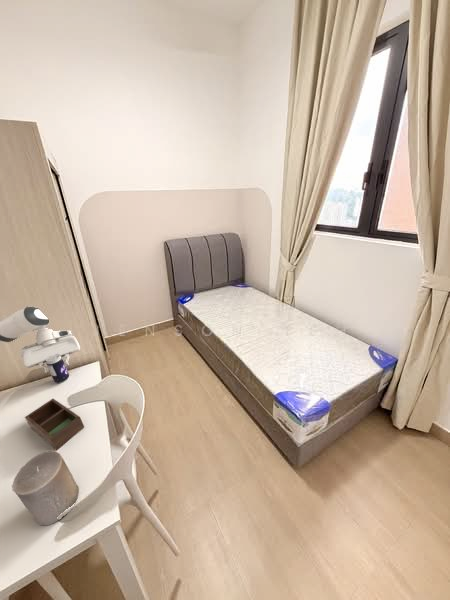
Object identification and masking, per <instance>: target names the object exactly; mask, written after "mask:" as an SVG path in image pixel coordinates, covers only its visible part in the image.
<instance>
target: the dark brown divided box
mask: <svg viewBox="0 0 450 600" xmlns="http://www.w3.org/2000/svg"><path fill="white" fill-rule="evenodd" d="M24 419H25V420H26V422H27V424H28V426H29V428H31V429H32V430H33V431H34V432H35V433H36V434H37V435H39V436H40V437H41V438H42V439H43V440H44V441H45V442H46V443H48V444H49V445H50V446H51V447H52V448H54V449H55V450H56V451H58V450H59V449H61V448H62V447H64V445H65V444H67V443H68V442H69V441H70V440H71V439H73V437H75V436H76V435H78V433H79V432H82V430H83V429H84V428H85V425H84V423H83V420H82V418H81V416H79V415H78V414H76V413H75V412H74V411H72V409H69V408H68V407H66V406H65V405H63V403H61V402H59V401H58V400H56V399H55V398H51V399H50V400H48V401H46V402H45V403H43V404H42V405H41V406H39V407H38V408H36V409H34V410H33V411H32V412H30V413H28V414H27V415H26V416H24Z"/></svg>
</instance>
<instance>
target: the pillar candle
mask: <svg viewBox="0 0 450 600" xmlns="http://www.w3.org/2000/svg"><path fill="white" fill-rule="evenodd" d="M11 488H12V489H11V490H12V491H13V493H15V494H16V495H17V498H18V499H19V500H20V501H21V503H22V504H23V505H24V507H25V508H26V509H27V511H28V512H29V514H30V515H31V516H32V517H33V519H34V520H35V522H36V523H37V524H38V525H40V526H42V527H43V526H50V525H53V524H56V523H58V522H59V521H58V519H57V517H58V516H59V515H60V514H61V513H63V512H64V511H65V510H66V509H68V508H69V507H71V506H72V505H73V504H74V503H75V504H76V503H77V500H78V498H79V493H80V489H79V486H78V484H77V482H76V480H75V479H74V477H73V474H72V473H71V471H70V469H69V467H68V465H67V463H66V461H65V459H64V457H63V456H62V455H61V453H60V452H57V450H56V451H55V450H51V451H50V450H49V451H44V452H42V453H40V454H37V455H36V456H33V457H32V458H31V459H29V460H28V461H27V462H26V463H25V464H24V465H23V466H22V467H21V468H20V469H19V471H18V472H17V473H16V475H15V477H14V479H13V482H12V485H11ZM75 504H74V505H75Z"/></svg>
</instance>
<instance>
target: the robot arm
mask: <svg viewBox="0 0 450 600" xmlns="http://www.w3.org/2000/svg"><path fill="white" fill-rule="evenodd" d="M25 307H26V308H25ZM25 307H23V308H20V309H18V310H16V311H17V312H16V311H15V312H13V313H14V314H13V313H11V314H12V315H11V316H9V317H7V318H5V319H4V320H3V321H1V322H0V342H3V343H11V341H12V342H14V341H16V340H18V339H19V338H21V337H22V336H24V335H27V334H29V333H31V332H35V331H34V330H38V332H37V335H36V338H35V341H36V342H35V343H32V344H30V345H26V346H23V347H22V348H21V349H20V355H21V357H22V362H23V363H22V364H23V366H24V367H25V368H27V369H31V368H34V367H36V366H39V367H41V368H42V369H43V370H44V373H45V374H47V373H50V371H49V369H48V367H47V366H46V359H47V358H48V357H49V356H50V357H51V356H54V355H55V354H59V355H60V356H61V357H62V358H63V357H65V361H64V360H63V361H64V366H66V367H67V366H70V363H69V361H70V357H71V356H70V355H72V354H75V353H79V352H80V351H81V350H82V349H81V345H80V343H79V341H78V339H77V338H76V336H74V335H73V336H72V333H73V332H72V331H71V330H68V329H66V330H65V331H64V330H59V331H53V330H52V329H48V328H45V326H46V325H48V323H49V319H48V318H47V317H46V316H45V315H44V314H43V313H42V312H41V311H40V310H39V308H35V307H33V306H32V307H28V306H25ZM71 332H72V333H71ZM20 336H21V337H20ZM18 337H19V338H18ZM17 338H18V339H17ZM15 339H16V340H15ZM13 340H14V341H13ZM45 366H46V367H45Z"/></svg>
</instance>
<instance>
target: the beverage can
mask: <svg viewBox="0 0 450 600" xmlns="http://www.w3.org/2000/svg"><path fill="white" fill-rule="evenodd" d="M45 366H46V368H47V367H48V369H49V371H50V372H49V374H50V376H51V378H52V380H53V382H54V383H55V384H63V383H65V382H66V381H67V380H68V379H69V378H70V374H69V371H68V369H67V366H64V358H63V357H61V356H60V355H59V354H55V355H54V356H51V357H50V356H49V357H48V358H47V359H46V363H45Z"/></svg>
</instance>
